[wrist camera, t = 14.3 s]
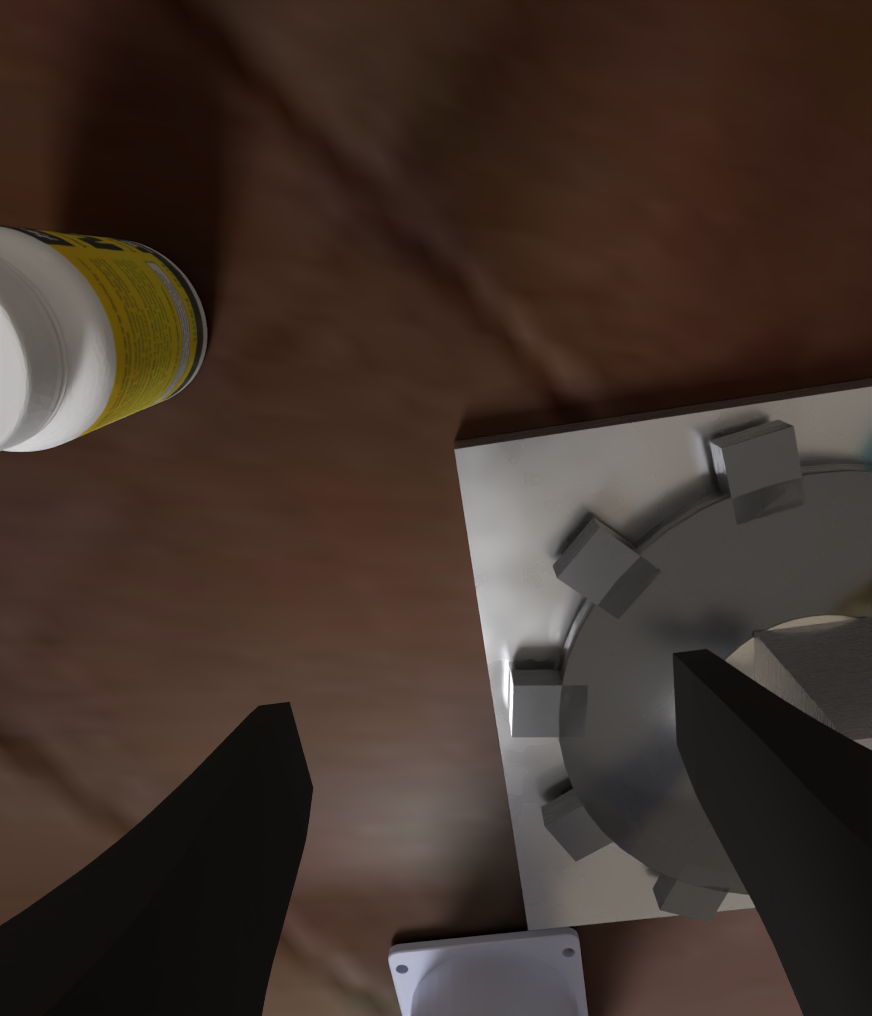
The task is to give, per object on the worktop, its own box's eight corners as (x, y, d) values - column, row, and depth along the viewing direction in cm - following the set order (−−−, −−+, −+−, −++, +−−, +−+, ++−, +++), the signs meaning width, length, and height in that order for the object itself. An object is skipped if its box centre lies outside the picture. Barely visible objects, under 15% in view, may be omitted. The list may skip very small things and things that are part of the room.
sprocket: (1217, 639, 21) (1462, 755, 16) (794, 971, 26) (878, 1137, 21) (792, 280, 18) (932, 281, 13) (403, 743, 23) (391, 877, 18)
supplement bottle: (174, 218, 19) (-28, 174, 11) (234, 380, 20) (97, 448, 12) (21, 266, 19) (-281, 259, 11) (92, 420, 21) (-130, 511, 13)
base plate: (1031, 855, 26) (1055, 879, 25) (525, 907, 27) (528, 932, 26) (1126, 339, 19) (1165, 343, 18) (454, 441, 21) (454, 449, 20)
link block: (860, 774, 22) (977, 915, 17) (753, 787, 22) (839, 929, 17) (871, 616, 20) (1007, 725, 15) (753, 631, 20) (850, 743, 15)
